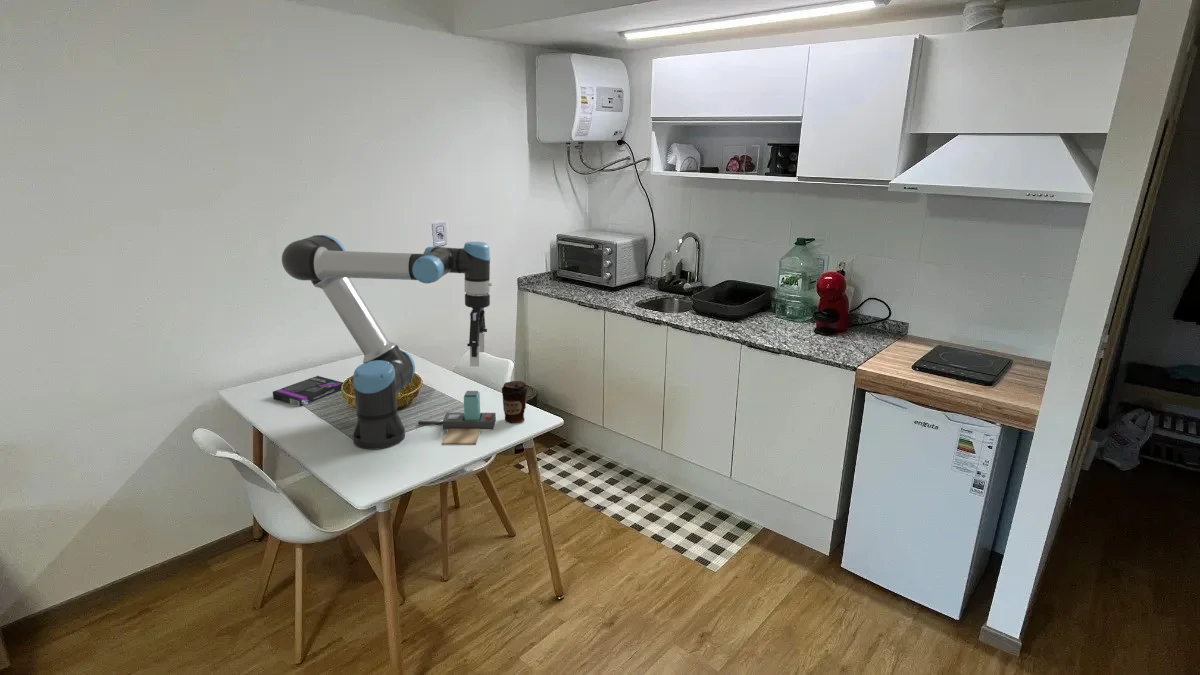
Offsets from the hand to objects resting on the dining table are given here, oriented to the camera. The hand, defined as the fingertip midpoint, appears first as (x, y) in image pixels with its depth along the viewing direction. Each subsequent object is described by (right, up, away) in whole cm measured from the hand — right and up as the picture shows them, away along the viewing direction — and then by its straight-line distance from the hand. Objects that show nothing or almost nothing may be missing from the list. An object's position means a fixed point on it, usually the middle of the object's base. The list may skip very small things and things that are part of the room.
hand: (477, 358), depth 198 cm
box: (-66, -14, +28) cm, 73 cm away
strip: (-8, -22, +6) cm, 24 cm away
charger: (-3, -21, +6) cm, 22 cm away
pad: (-4, -24, -3) cm, 25 cm away
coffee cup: (+10, -21, +10) cm, 26 cm away
